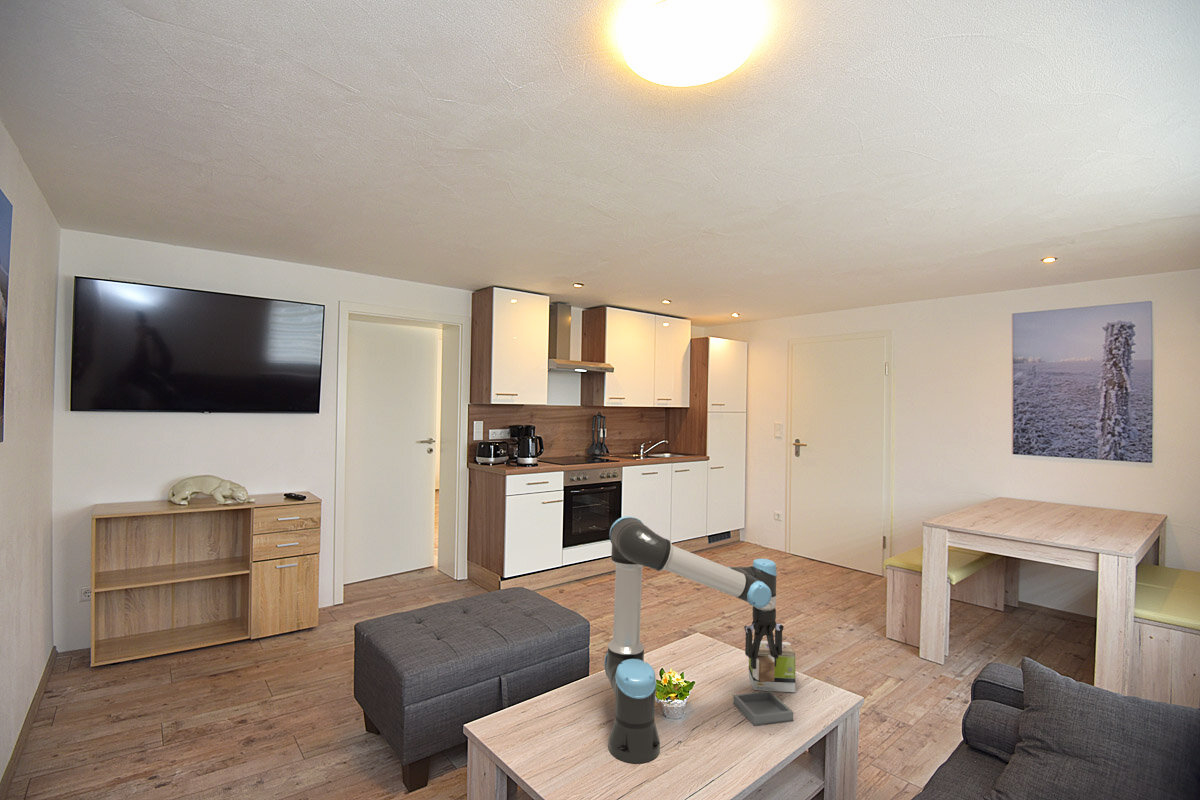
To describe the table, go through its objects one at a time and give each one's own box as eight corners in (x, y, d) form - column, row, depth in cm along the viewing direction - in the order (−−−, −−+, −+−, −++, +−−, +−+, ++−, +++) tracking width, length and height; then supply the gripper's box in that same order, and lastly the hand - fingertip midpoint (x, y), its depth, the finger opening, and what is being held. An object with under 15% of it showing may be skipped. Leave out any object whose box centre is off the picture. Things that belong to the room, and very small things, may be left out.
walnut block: (760, 682, 183) (761, 663, 183) (752, 675, 188) (753, 657, 188) (774, 680, 185) (774, 662, 185) (766, 674, 189) (766, 656, 190)
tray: (754, 726, 178) (754, 716, 178) (733, 703, 191) (733, 694, 191) (793, 721, 181) (793, 711, 181) (769, 699, 195) (770, 690, 195)
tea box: (789, 680, 209) (789, 640, 209) (795, 693, 199) (796, 652, 199) (748, 677, 211) (748, 638, 211) (752, 690, 201) (753, 649, 201)
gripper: (745, 612, 181) (744, 685, 181) (794, 608, 185) (793, 679, 185) (734, 604, 188) (733, 674, 188) (781, 601, 193) (781, 669, 192)
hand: (763, 676), depth 186 cm, fingers closed on walnut block, 5 cm apart
